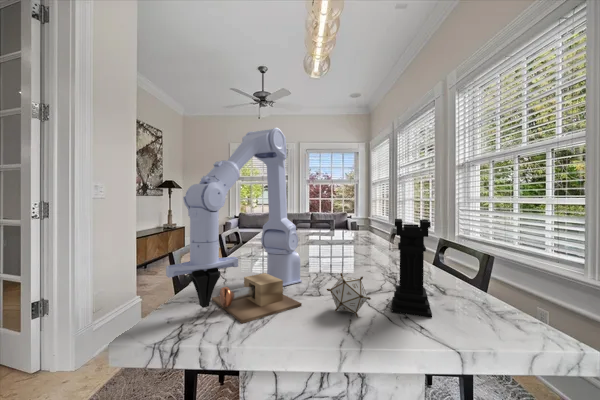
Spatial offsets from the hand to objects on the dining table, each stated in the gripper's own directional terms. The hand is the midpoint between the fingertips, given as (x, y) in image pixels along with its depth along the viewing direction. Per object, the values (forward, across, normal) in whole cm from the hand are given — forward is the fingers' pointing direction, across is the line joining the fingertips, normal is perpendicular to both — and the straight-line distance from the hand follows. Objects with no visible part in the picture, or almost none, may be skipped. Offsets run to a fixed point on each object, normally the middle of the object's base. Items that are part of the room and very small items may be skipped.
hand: (204, 305), depth 59 cm
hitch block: (+2, -12, 0) cm, 12 cm away
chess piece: (+2, -39, +24) cm, 46 cm away
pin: (+1, -9, 0) cm, 9 cm away
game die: (+2, -26, +17) cm, 31 cm away
